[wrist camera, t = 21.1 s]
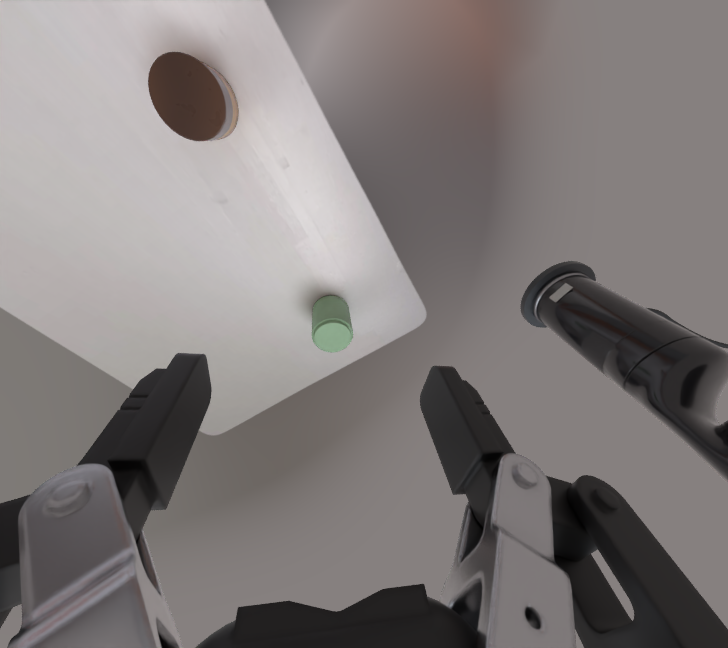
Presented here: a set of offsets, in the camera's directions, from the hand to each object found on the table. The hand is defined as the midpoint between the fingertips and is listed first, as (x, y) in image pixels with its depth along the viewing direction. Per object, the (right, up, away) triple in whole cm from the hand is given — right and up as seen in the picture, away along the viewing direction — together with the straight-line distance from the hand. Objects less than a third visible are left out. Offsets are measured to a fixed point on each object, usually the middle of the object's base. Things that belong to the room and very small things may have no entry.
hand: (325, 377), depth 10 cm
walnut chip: (-14, +23, +16) cm, 31 cm away
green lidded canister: (-4, +4, +33) cm, 34 cm away
